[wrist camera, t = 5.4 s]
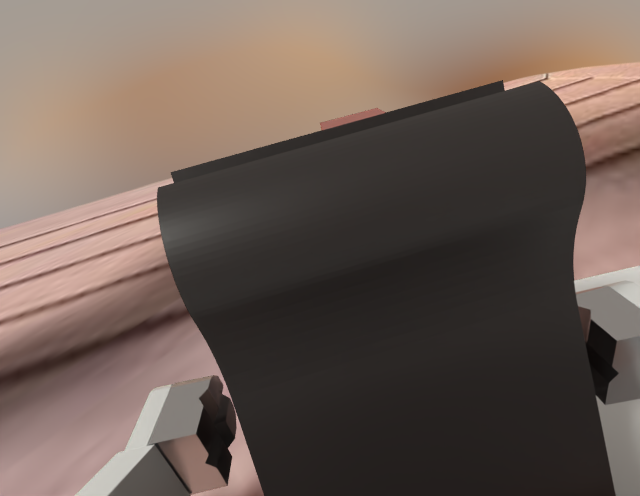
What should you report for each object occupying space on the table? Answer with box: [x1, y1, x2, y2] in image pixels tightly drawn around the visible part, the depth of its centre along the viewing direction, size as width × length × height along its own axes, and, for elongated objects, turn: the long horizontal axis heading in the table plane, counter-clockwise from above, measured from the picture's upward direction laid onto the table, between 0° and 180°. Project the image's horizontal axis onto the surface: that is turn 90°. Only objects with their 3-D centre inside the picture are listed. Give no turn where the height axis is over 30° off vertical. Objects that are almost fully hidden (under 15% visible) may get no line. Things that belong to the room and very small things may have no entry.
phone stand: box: [157, 80, 616, 496], centre depth 9 cm, size 9×6×12 cm, turn 10°
